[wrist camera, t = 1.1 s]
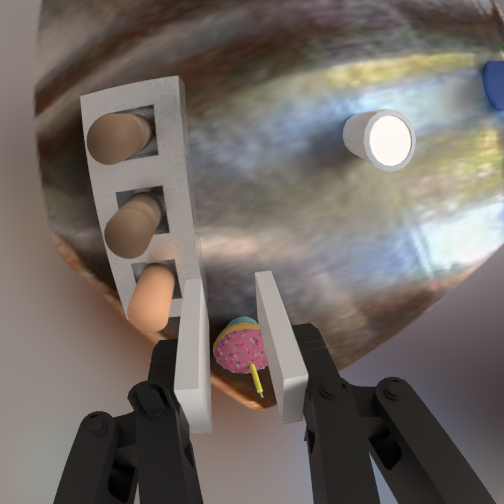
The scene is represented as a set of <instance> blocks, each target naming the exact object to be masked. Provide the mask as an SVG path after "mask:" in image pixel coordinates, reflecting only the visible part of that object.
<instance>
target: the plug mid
mask: <svg viewBox="0 0 504 504" xmlns="http://www.w3.org/2000/svg"><path fill="white" fill-rule="evenodd" d="M162 214H163V209H162V205H161V202H160V201H159V199H158V198H157V197H156V196H155V195H153V194H151V193H148V192H138V193H136V194H134V195H132V196H131V197H130V198H129V199H128V200H127V201H126V203H125V204H124V205H123V206H122V207H121V208H120V209H119V210H118V211H117V212H116V213H115V214H114V216H113V217H112V218H111V219H110V220H109V221H108V223H107V224H106V227H105V230H104V238H105V242H106V244H107V246H108V248H109V249H110V250H111V251H112V252H113V253H114V254H115V255H117V256H119V257H121V258H125V259H133V258H137V257H139V256H141V255H142V254H143V253H144V252H145V251H146V250H147V248H148V246H149V243H150V241H151V239H152V237H153V235H154V233H155V230H156V228H157V226H158V224H159V222H160V220H161V218H162Z"/></svg>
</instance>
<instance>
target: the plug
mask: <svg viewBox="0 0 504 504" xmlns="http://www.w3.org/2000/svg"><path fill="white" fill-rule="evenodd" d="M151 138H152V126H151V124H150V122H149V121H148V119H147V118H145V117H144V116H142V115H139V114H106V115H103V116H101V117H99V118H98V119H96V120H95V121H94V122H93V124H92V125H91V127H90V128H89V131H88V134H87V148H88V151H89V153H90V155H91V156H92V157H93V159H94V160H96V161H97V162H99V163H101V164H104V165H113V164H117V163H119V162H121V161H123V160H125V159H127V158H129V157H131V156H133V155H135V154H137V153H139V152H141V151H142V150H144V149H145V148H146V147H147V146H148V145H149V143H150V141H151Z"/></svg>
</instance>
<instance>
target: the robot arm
mask: <svg viewBox="0 0 504 504" xmlns="http://www.w3.org/2000/svg"><path fill="white" fill-rule="evenodd" d="M255 280H256V297H257V314H258V321H259V326H260V330H261V334H262V339H263V343H264V348H265V352H266V356H267V361H268V365H269V369H270V374H271V378H272V382H273V387H274V391H275V395H276V400H277V404H278V408H279V412H280V417H281V421H282V424H287V423H293V422H298V421H302V420H303V415H304V417H305V420H306V424H307V426H306V432H305V438H304V441H307V446H308V455H309V463H310V472H311V481H312V491H313V500H314V504H380V499H379V494H378V490H377V485H376V481H375V476H374V472H373V468H372V463H371V459H370V455H369V452H370V454H371V456H372V458H373V459H374V461H375V463H376V465H377V466H378V468H379V470H380V471H381V474H382V475H383V477H384V479H385V481H386V482H387V484H388V486H389V488H390V489H391V491H392V493H393V495H394V496H395V498H396V500H397V502H398V504H496V503H495V501H494V500H493V498H492V497H491V495H490V494H489V492H488V491H487V489H486V488H485V487H484V485H483V484H482V482H481V481H480V479H479V478H478V477H477V475H476V473H475V472H474V470H473V469H472V468H471V467H470V465H469V464H468V462H467V461H466V459H465V458H464V456H463V455H462V454H461V452H460V451H459V450H458V448H457V447H456V445H455V444H454V443H453V442H452V440H451V438H450V437H449V436H448V434H447V433H446V432H445V430H444V429H443V428H442V426H441V425H440V424H439V422H438V421H437V420H436V418H435V417H434V416H433V414H432V413H431V412H430V410H429V409H428V408H427V407H426V405H425V404H424V403H423V401H422V400H421V399H420V397H419V396H418V395H417V393H416V392H415V391H414V390H413V388H412V387H411V386H410V385H409V384H408V383H407V382H406V381H405V380H403V379H400V378H398V377H388V378H384V379H383V380H381V381H380V382H379V383H378V385H377V386H376V387H361V386H354V385H351V384H349V383H348V382H347V381H346V380H344V379H343V378H341V377H340V375H339V374H338V371H337V369H336V367H335V365H334V362H333V360H332V358H331V356H330V354H329V351H328V349H327V348H326V345H325V343H324V341H323V338H322V336H321V334H320V332H319V330H318V329H317V328H316V327H314V326H313V325H312V324H311V323H307V324H300V325H293V326H291V325H290V322H289V319H288V316H287V314H286V311H285V308H284V305H283V302H282V300H281V297H280V294H279V291H278V289H277V286H276V283H275V280H274V278H273V275H272V272H271V271H263V272H255ZM151 360H152V361H151V364H150V369H149V375H148V380H147V381H143V382H140V383H138V384H137V385H135V386H133V388H132V389H131V390H130V391H129V394H128V400H129V402H130V404H131V405H132V407H133V409H134V411H133V412H131V413H129V414H126V415H122V416H118V417H114V418H113V417H112V416H111V415H110V414H108V413H106V412H102V411H96V412H93V413H90V414H88V415H87V416H86V417H85V418H84V419H83V421H82V422H81V424H80V427H79V429H78V432H77V435H76V438H75V440H74V443H73V445H72V448H71V451H70V454H69V456H68V459H67V462H66V465H65V468H64V471H63V474H62V477H61V480H60V483H59V486H58V490H57V493H56V496H55V499H54V503H53V504H134V499H135V494H136V488H137V484H139V497H140V504H203V499H202V495H201V490H200V485H199V480H198V475H197V470H196V464H195V459H194V453H193V448H192V444H191V441H190V439H189V428H190V430H191V433H192V434H193V433H212V413H211V391H210V390H211V387H210V351H209V320H208V314H207V309H206V303H205V297H204V291H203V285H202V279H201V278H197V279H187V280H185V287H184V295H183V303H182V311H181V320H180V329H179V338H178V339H171V340H159V342H158V343H157V344H156V346H155V347H154V349H153V353H152V358H151Z"/></svg>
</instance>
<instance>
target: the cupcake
mask: <svg viewBox="0 0 504 504" xmlns="http://www.w3.org/2000/svg"><path fill="white" fill-rule="evenodd" d="M213 354H214V357H215V358H216V361H218V363H219V364H220V365H221V366H223V368H224V369H225V368H226V369H227V370H229V371H231V372H232V373H233V372H234V373H235V372H236V373H238V374H241V373H246V374H247V373H252V375H253V379H254V382H255V385H256V389H257V392H258V393H260V394H261V397H263V395H262V393H261V392H262V387H261V384H260V381H259V378H258V375H257V371H258V370H261V369H264V366H267V365H268V361H267V356H266V352H265V348H264V343H263V339H262V334H261V330H260V326H259V324H257V322H256V321H255V320H254V319H252V318H249V317H238V318H235V319H233V320H232V321H230V322H229V324H228V325H227V327H226V328H225V329H223V331H222V332H221V333H220V334H219V336H218V337H217V339H216V341H215V342H214V344H213Z"/></svg>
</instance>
